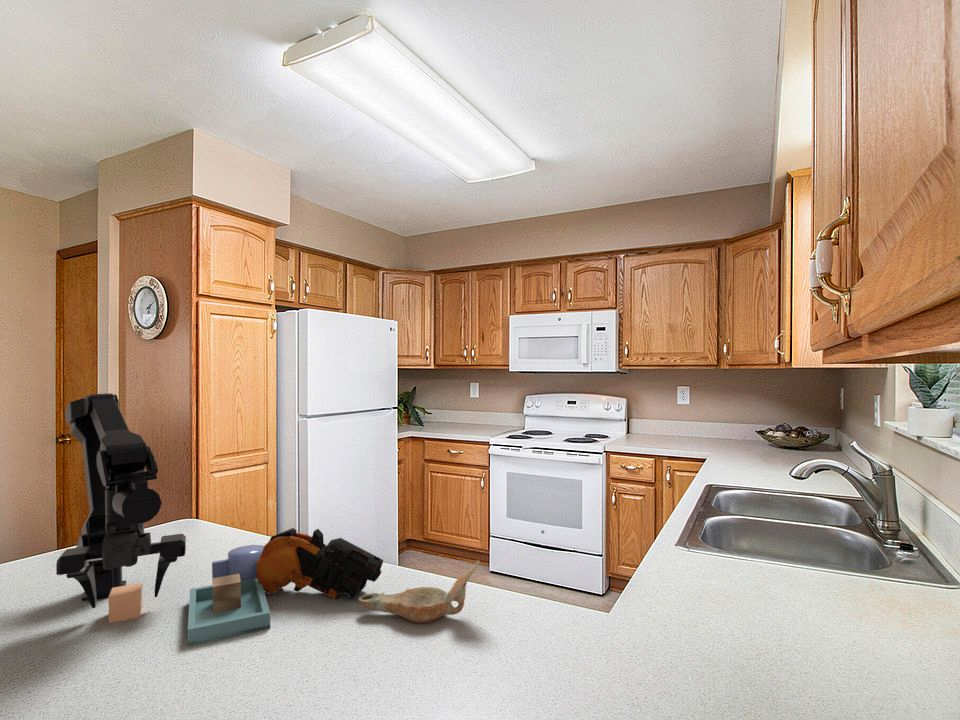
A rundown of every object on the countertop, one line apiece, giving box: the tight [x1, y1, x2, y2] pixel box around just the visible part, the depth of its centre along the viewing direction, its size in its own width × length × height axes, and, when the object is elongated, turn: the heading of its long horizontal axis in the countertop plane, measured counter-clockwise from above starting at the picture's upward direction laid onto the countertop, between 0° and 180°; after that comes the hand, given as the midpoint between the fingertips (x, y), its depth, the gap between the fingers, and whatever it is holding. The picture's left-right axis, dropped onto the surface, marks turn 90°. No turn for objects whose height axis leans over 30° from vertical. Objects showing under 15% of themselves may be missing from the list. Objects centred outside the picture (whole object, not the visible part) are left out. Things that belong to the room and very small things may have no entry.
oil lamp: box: [358, 560, 480, 624], centre depth 94 cm, size 9×21×10 cm, turn 81°
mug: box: [211, 544, 265, 580], centre depth 108 cm, size 7×10×7 cm
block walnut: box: [211, 574, 241, 613], centre depth 98 cm, size 4×4×4 cm
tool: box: [256, 527, 384, 599], centre depth 104 cm, size 8×23×15 cm, turn 79°
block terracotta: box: [108, 582, 143, 624], centre depth 96 cm, size 4×4×4 cm
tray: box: [187, 578, 271, 647], centre depth 96 cm, size 18×12×2 cm, turn 27°
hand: (125, 601), depth 97 cm, fingers open, 9 cm apart
